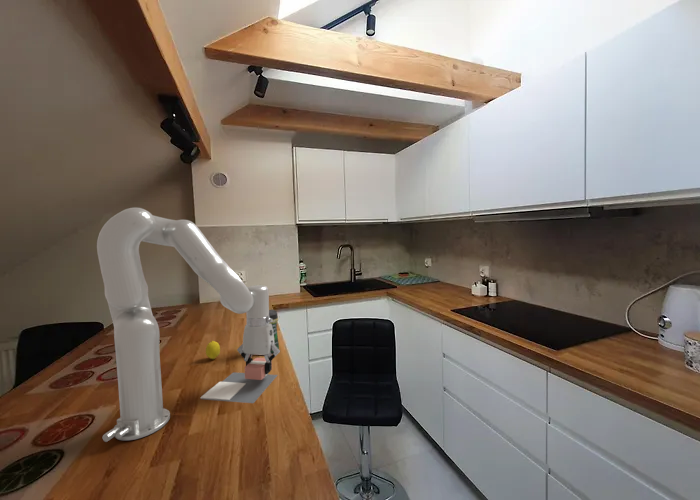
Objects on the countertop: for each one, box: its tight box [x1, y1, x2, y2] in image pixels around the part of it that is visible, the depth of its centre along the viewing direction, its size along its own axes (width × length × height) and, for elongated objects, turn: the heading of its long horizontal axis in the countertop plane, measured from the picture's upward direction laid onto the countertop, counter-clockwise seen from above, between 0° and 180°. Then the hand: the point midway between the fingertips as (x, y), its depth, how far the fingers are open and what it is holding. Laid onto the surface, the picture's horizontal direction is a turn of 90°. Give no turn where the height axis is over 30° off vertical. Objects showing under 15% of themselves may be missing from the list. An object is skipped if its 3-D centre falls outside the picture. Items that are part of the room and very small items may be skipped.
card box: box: [244, 357, 273, 380], centre depth 101 cm, size 8×6×4 cm
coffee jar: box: [269, 309, 280, 354], centre depth 129 cm, size 10×8×19 cm
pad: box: [200, 381, 246, 401], centre depth 96 cm, size 10×10×1 cm
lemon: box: [205, 340, 221, 360], centre depth 123 cm, size 6×6×8 cm
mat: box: [201, 371, 278, 404], centre depth 99 cm, size 18×18×1 cm
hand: (258, 371), depth 101 cm, fingers closed on card box, 6 cm apart
